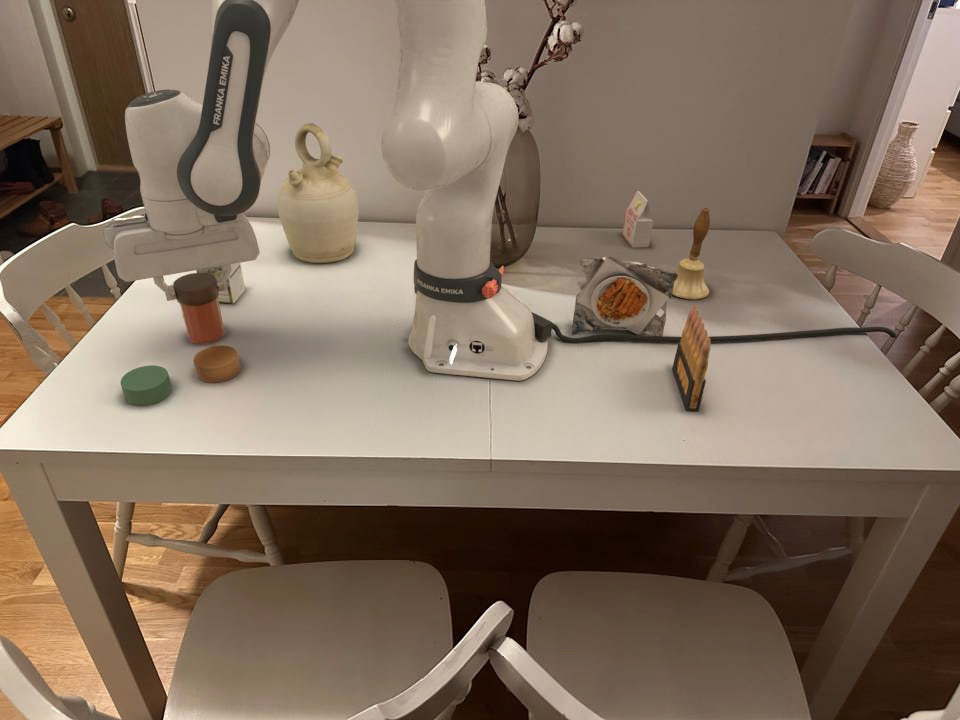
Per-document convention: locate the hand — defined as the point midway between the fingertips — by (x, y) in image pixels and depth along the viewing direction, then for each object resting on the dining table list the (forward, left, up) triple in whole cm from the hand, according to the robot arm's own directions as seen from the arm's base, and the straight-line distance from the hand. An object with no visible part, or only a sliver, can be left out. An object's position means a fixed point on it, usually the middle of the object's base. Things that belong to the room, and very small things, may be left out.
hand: (197, 293), depth 107 cm
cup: (0, 0, -8) cm, 8 cm away
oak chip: (-8, +8, -8) cm, 14 cm away
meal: (-63, -24, -8) cm, 68 cm away
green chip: (-2, +16, -8) cm, 18 cm away
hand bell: (-73, -45, -8) cm, 86 cm away
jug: (-2, -35, -8) cm, 36 cm away
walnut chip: (0, 0, 0) cm, 0 cm away
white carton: (-61, -64, -8) cm, 89 cm away
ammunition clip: (-75, -12, -8) cm, 76 cm away
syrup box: (+5, -12, -8) cm, 15 cm away
